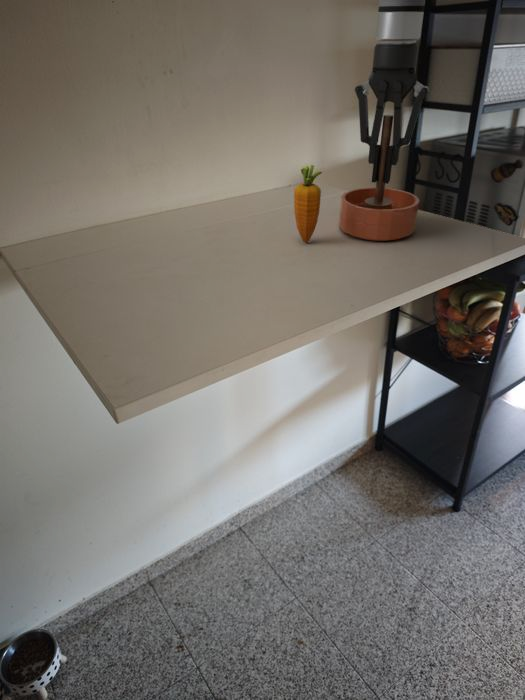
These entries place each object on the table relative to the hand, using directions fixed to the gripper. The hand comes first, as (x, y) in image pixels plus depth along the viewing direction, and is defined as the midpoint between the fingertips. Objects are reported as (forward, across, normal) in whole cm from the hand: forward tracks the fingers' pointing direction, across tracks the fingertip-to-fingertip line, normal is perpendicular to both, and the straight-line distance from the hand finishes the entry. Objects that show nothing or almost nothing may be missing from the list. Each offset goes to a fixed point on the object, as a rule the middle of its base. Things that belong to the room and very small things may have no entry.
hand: (380, 180), depth 99 cm
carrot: (+10, +12, +12) cm, 20 cm away
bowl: (+10, 0, 0) cm, 10 cm away
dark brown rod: (+6, 0, 0) cm, 6 cm away
